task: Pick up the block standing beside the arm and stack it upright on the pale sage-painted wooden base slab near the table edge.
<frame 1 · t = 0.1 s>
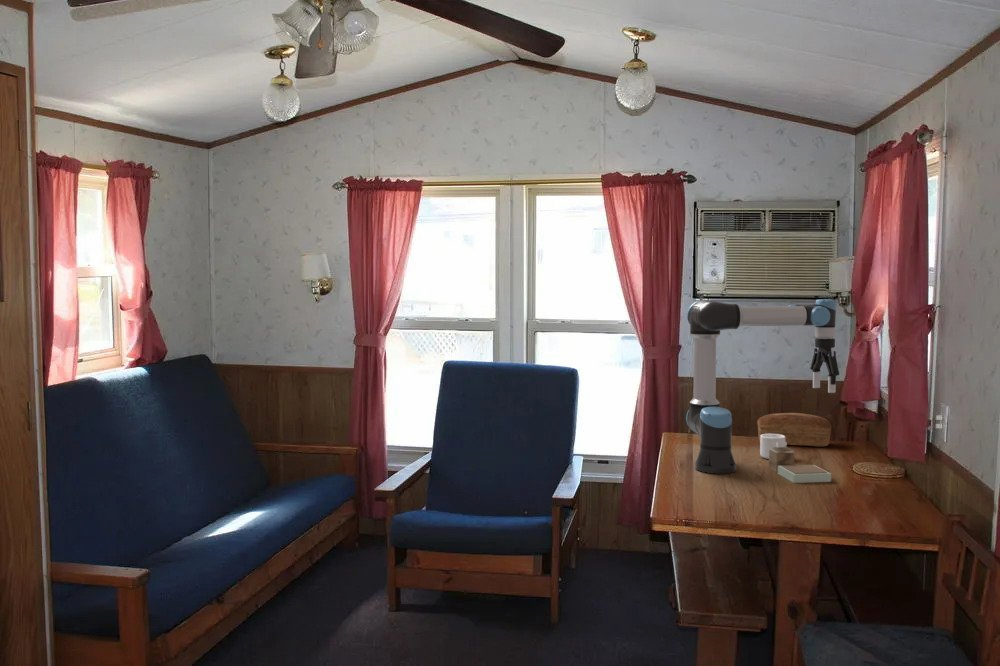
hand: (823, 390, 343), 28 cm above the table, fingers open, 13 cm apart
base: (803, 477, 314), on the table
block: (781, 469, 327), on the table
bread: (793, 444, 375), on the table
mug: (774, 458, 346), on the table
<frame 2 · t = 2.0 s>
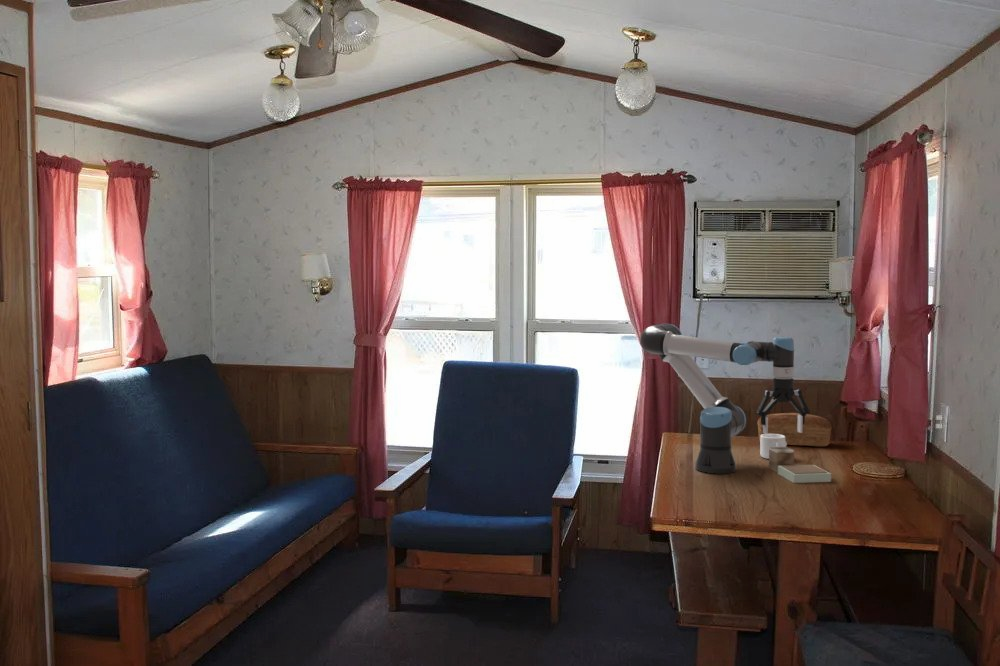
hand: (782, 432, 326), 14 cm above the table, fingers open, 13 cm apart
nothing on the table moved.
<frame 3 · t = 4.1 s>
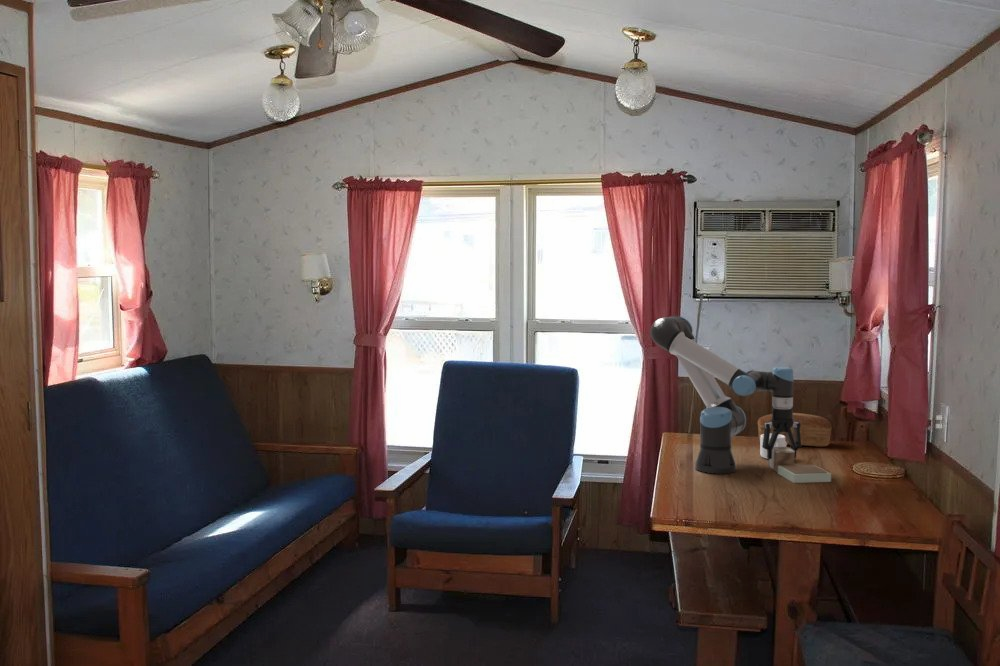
hand: (781, 466, 327), 1 cm above the table, fingers closed on block, 7 cm apart
block: (781, 469, 327), on the table, touching gripper
everything else where it was.
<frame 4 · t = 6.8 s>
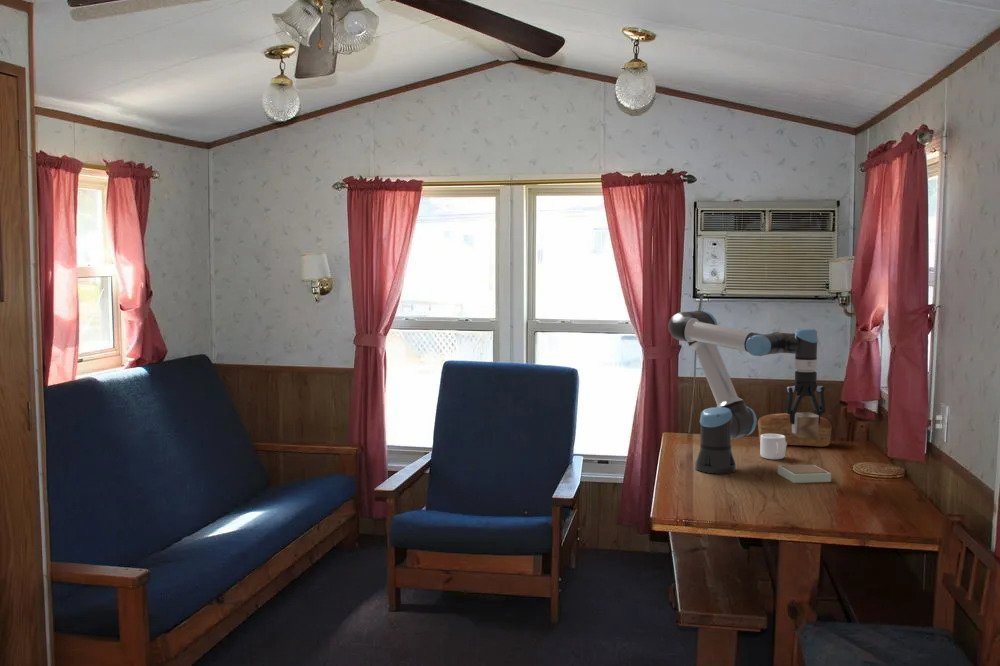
hand: (804, 432, 313), 17 cm above the table, fingers closed on block, 7 cm apart
block: (804, 435, 313), point 16 cm above the table, touching gripper
everything else where it was.
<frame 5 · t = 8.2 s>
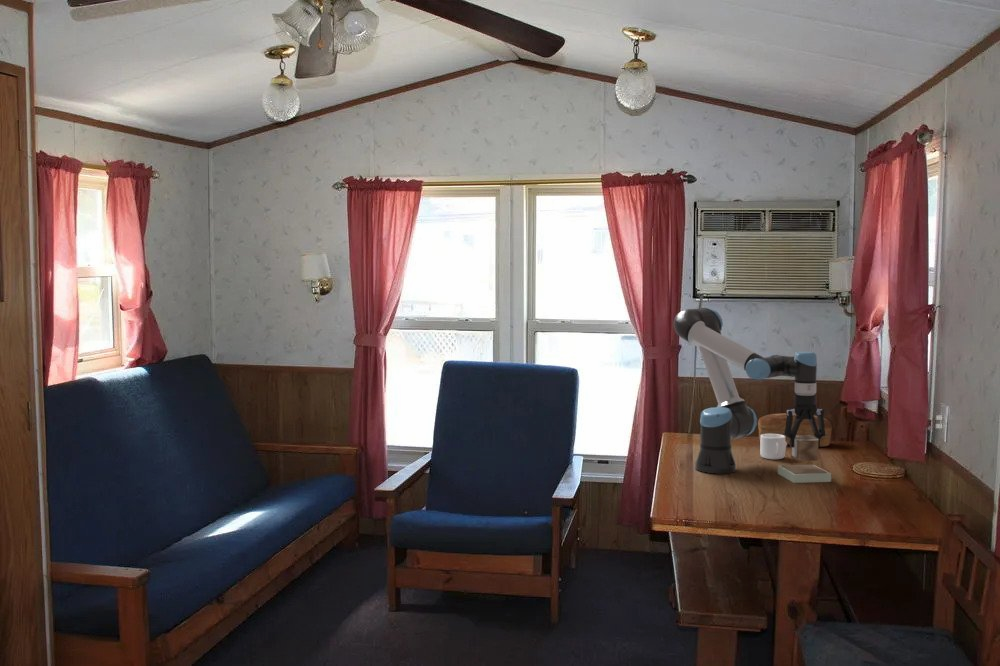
hand: (804, 455, 314), 8 cm above the table, fingers closed on block, 7 cm apart
block: (804, 458, 314), point 7 cm above the table, touching gripper
everything else where it was.
when the fingers open (6 cm above the table, at t = 9.6 s): block drops 1 cm, resting on base.
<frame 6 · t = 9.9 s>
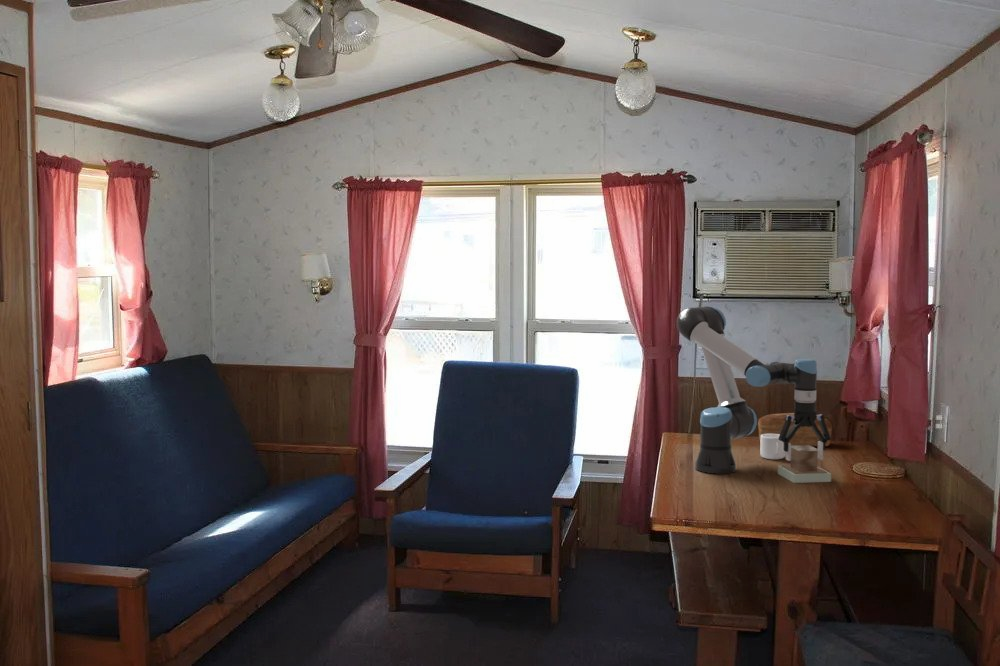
hand: (804, 459, 314), 7 cm above the table, fingers open, 11 cm apart
block: (803, 468, 314), point 3 cm above the table, touching base
everything else where it was.
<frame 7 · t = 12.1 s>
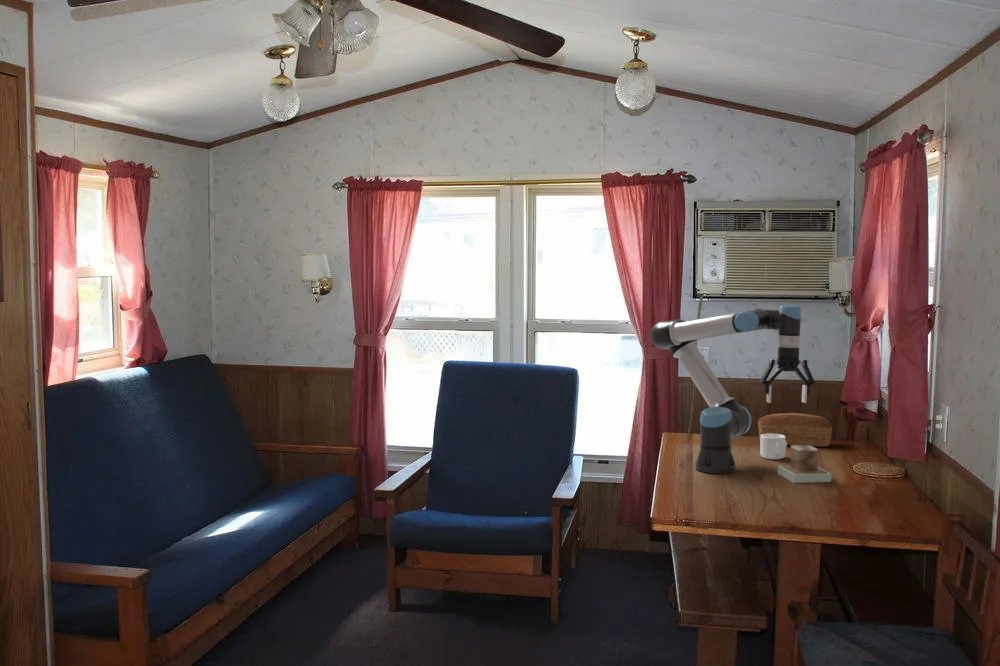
hand: (786, 402, 321), 27 cm above the table, fingers open, 13 cm apart
nothing on the table moved.
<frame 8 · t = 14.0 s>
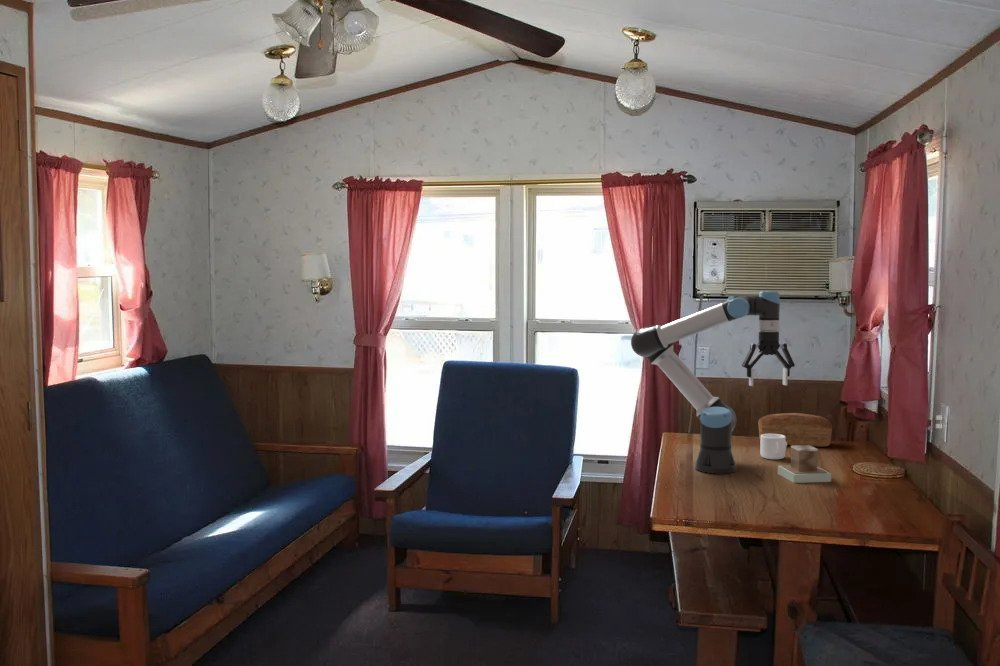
hand: (768, 385, 331), 32 cm above the table, fingers open, 13 cm apart
nothing on the table moved.
at the end: block inside the target area on the base (0.0 cm from its centre), point 3.3 cm above the base's base; block tilted 0°; block touching base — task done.
